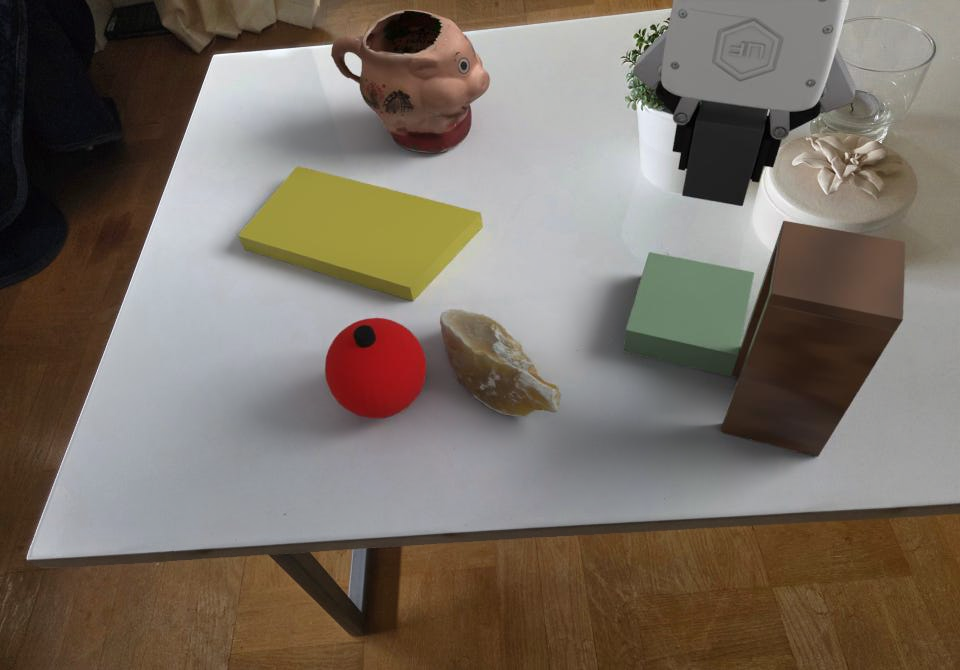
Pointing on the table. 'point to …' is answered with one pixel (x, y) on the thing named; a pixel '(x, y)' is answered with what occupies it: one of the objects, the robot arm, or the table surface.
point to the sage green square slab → (689, 313)
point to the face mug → (417, 77)
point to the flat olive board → (360, 232)
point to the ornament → (375, 368)
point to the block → (723, 152)
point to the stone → (494, 365)
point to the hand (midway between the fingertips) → (721, 162)
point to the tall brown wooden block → (814, 334)
